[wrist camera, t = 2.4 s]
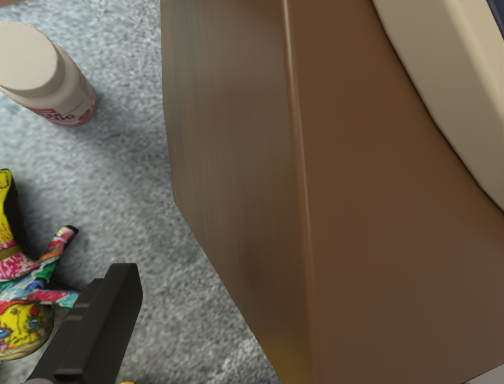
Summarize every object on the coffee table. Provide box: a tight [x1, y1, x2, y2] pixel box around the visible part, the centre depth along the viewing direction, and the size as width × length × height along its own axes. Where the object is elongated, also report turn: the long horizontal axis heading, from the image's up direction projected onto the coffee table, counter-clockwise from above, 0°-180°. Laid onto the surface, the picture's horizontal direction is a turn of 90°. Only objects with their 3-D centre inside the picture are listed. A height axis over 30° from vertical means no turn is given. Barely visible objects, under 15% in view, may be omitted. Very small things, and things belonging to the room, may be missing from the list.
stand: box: [160, 0, 504, 384], centre depth 15 cm, size 10×10×26 cm
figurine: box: [0, 169, 81, 361], centre depth 20 cm, size 10×4×15 cm
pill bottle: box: [0, 21, 97, 126], centre depth 19 cm, size 5×5×8 cm
